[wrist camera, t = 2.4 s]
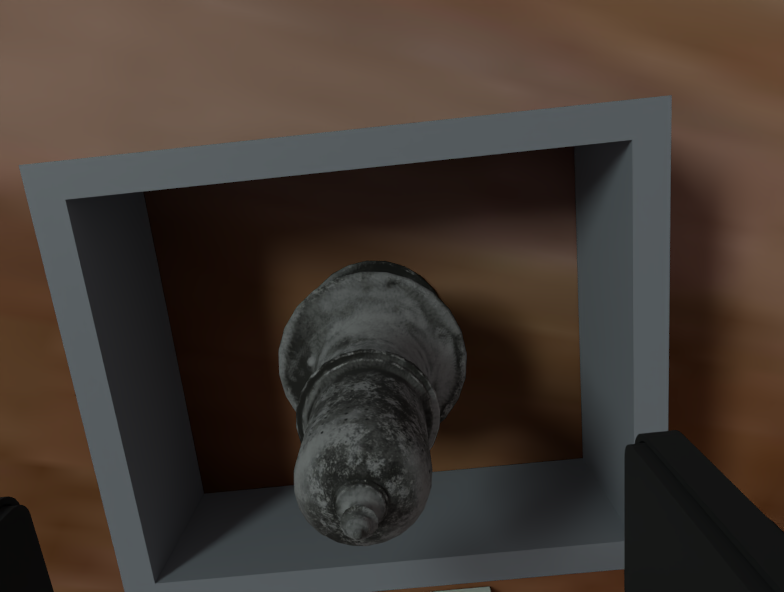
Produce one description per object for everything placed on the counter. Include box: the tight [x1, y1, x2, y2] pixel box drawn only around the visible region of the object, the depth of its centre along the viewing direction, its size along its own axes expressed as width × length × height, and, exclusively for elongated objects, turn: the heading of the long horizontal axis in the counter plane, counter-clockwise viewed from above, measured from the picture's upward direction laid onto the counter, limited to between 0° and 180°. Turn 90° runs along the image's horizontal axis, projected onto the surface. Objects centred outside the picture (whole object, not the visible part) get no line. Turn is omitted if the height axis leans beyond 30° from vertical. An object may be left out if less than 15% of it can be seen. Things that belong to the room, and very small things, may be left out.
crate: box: [19, 95, 672, 592], centre depth 19 cm, size 17×14×5 cm
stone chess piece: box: [279, 261, 467, 546], centre depth 16 cm, size 6×6×12 cm
